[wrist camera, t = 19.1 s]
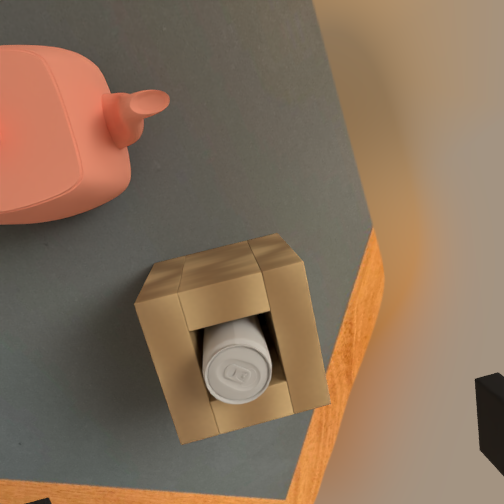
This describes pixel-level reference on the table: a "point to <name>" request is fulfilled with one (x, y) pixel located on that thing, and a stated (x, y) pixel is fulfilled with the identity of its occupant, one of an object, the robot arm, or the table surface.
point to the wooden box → (227, 309)
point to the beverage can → (236, 360)
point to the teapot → (63, 134)
